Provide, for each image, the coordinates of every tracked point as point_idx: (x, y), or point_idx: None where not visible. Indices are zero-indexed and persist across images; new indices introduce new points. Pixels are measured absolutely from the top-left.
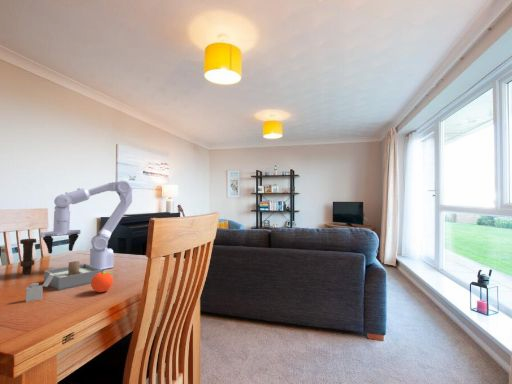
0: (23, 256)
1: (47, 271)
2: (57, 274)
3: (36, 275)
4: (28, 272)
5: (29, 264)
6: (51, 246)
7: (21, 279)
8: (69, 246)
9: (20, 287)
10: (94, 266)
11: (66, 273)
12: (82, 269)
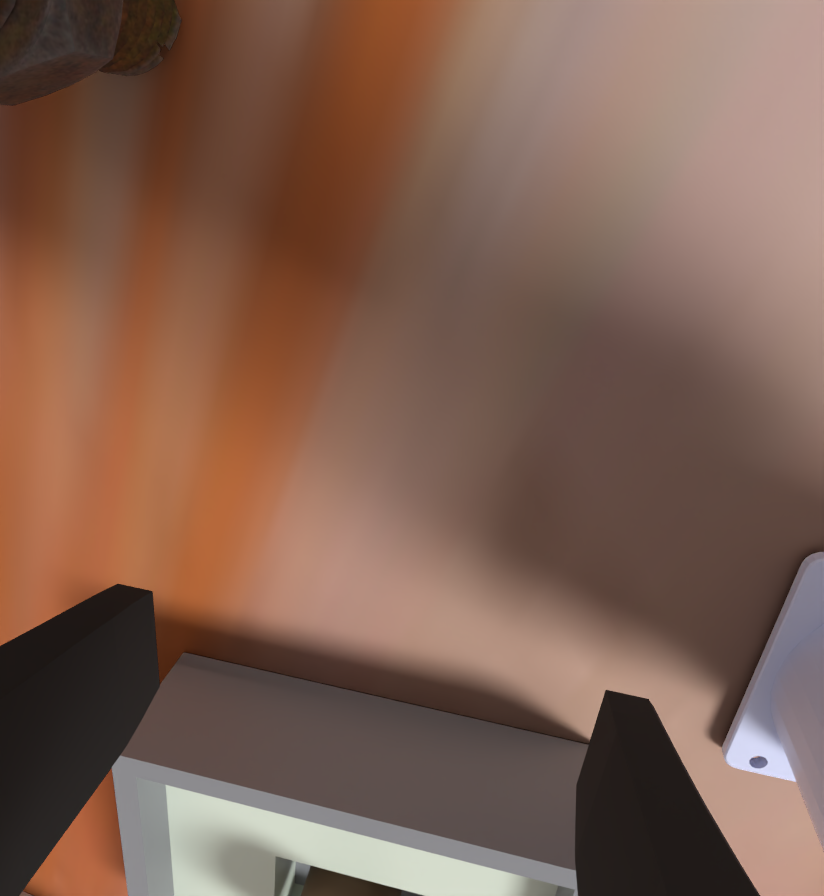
0: None
1: (127, 808)
2: (232, 821)
3: (203, 289)
4: (125, 66)
5: (21, 97)
6: (8, 885)
7: (37, 339)
8: (618, 825)
9: (10, 630)
10: (792, 771)
11: (306, 860)
12: (498, 878)
